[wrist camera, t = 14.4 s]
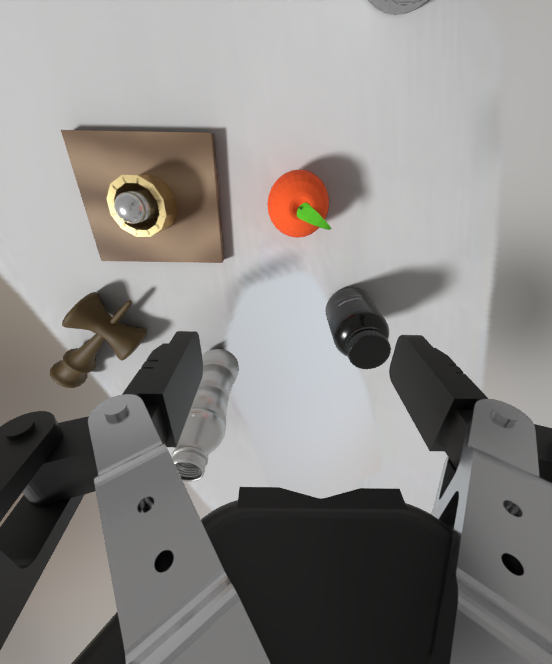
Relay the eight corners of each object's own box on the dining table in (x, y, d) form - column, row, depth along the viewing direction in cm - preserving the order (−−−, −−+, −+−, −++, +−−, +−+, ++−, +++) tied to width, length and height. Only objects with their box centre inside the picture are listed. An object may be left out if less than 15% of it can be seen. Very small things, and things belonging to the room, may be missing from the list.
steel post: (134, 189, 32) (104, 192, 26) (160, 189, 32) (135, 193, 26) (140, 216, 33) (112, 225, 28) (165, 217, 33) (142, 226, 28)
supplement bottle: (345, 277, 39) (370, 315, 28) (379, 302, 40) (415, 346, 30) (315, 312, 41) (327, 359, 31) (348, 334, 43) (370, 385, 33)
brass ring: (119, 174, 31) (99, 174, 27) (172, 175, 31) (159, 175, 27) (132, 230, 34) (116, 236, 30) (181, 230, 34) (170, 236, 31)
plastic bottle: (240, 375, 48) (220, 490, 30) (202, 373, 47) (159, 488, 30) (240, 344, 44) (216, 453, 27) (198, 342, 44) (148, 451, 27)
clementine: (342, 197, 33) (357, 202, 27) (310, 246, 36) (316, 260, 30) (287, 157, 31) (290, 152, 25) (258, 212, 34) (254, 220, 28)
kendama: (50, 348, 46) (109, 268, 38) (104, 379, 49) (167, 312, 42) (22, 371, 40) (84, 285, 33) (84, 404, 44) (152, 333, 37)
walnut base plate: (70, 131, 30) (60, 130, 29) (213, 134, 30) (211, 132, 29) (107, 257, 37) (101, 260, 36) (224, 259, 37) (222, 262, 36)
